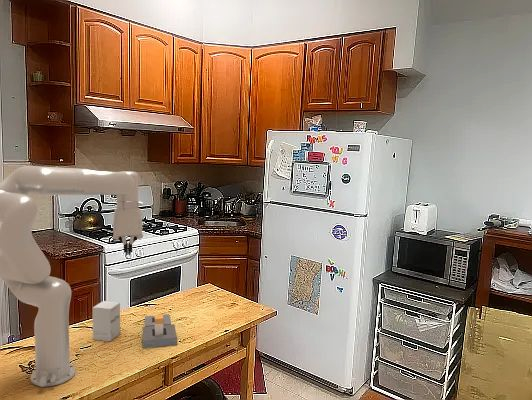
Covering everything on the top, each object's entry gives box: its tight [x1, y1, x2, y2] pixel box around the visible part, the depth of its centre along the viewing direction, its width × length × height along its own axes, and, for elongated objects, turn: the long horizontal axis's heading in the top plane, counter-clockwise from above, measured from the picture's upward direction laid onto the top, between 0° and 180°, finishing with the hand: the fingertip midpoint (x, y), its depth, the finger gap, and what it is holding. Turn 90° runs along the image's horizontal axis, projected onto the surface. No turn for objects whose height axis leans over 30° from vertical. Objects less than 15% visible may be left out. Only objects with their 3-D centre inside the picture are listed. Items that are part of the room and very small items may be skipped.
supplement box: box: [92, 300, 121, 342], centre depth 164 cm, size 7×7×13 cm
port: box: [142, 323, 178, 349], centre depth 163 cm, size 12×12×3 cm
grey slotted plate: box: [144, 313, 172, 327], centre depth 176 cm, size 10×10×2 cm
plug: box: [154, 313, 164, 336], centre depth 163 cm, size 4×3×9 cm
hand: (128, 254), depth 161 cm, fingers closed
